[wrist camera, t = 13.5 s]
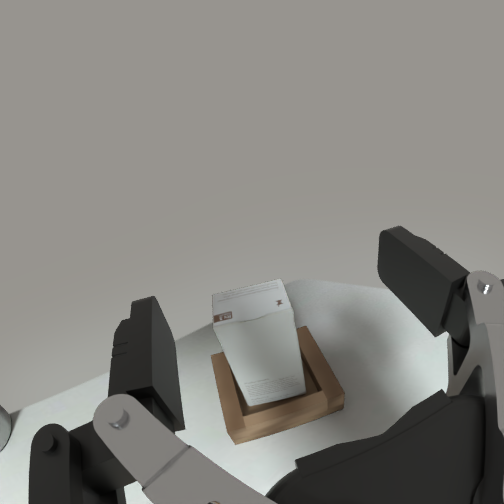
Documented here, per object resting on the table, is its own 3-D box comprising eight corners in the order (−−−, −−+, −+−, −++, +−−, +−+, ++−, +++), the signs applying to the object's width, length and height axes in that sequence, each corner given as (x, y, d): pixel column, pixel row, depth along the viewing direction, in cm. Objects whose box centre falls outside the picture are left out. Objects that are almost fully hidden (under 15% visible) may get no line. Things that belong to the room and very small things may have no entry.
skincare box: (297, 364, 31) (284, 273, 25) (308, 397, 27) (297, 307, 21) (241, 376, 31) (210, 289, 25) (246, 410, 27) (211, 326, 21)
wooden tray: (235, 444, 25) (227, 432, 23) (218, 371, 33) (210, 355, 32) (343, 408, 26) (344, 393, 25) (307, 343, 35) (306, 325, 33)
